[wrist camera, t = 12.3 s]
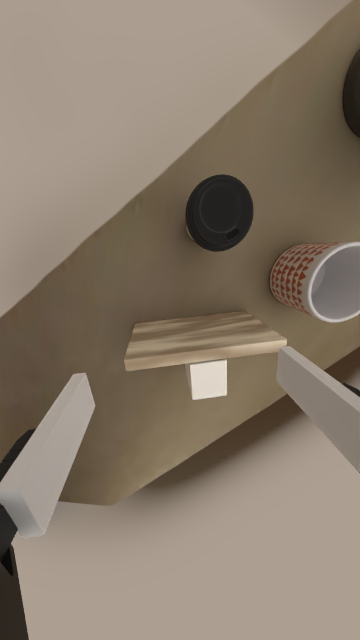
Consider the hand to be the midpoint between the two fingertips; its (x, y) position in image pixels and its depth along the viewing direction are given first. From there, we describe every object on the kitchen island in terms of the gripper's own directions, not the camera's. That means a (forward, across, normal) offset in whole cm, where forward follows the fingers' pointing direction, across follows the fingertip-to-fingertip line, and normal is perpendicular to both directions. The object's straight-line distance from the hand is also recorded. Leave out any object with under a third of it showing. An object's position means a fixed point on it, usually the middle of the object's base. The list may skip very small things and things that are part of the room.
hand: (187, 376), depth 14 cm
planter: (+32, +30, 0) cm, 44 cm away
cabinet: (+25, +5, -13) cm, 28 cm away
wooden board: (+32, +5, -11) cm, 34 cm away
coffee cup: (+32, +8, +12) cm, 35 cm away
